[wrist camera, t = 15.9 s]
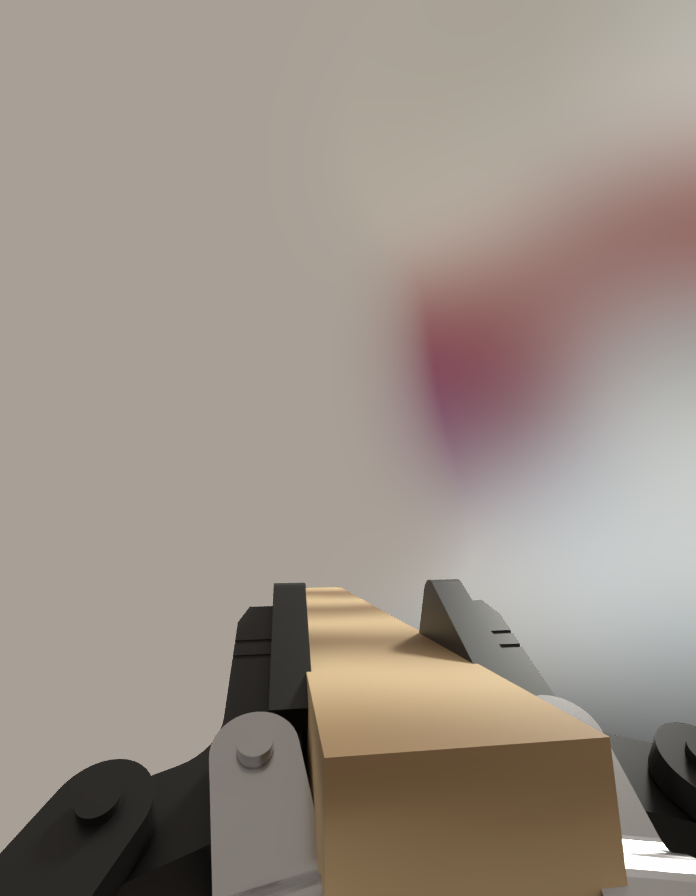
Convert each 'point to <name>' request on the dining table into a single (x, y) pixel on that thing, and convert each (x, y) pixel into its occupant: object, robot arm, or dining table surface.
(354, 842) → the slat
